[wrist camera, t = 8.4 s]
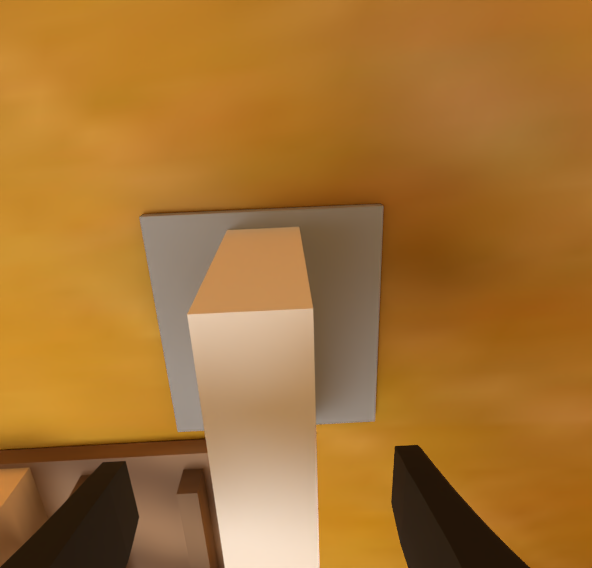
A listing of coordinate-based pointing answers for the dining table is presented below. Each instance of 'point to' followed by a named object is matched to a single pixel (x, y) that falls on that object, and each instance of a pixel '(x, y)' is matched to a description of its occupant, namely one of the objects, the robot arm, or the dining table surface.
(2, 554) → the offcut
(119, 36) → the dining table surface
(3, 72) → the dining table surface
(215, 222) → the mat
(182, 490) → the rack
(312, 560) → the cream rectangular block
